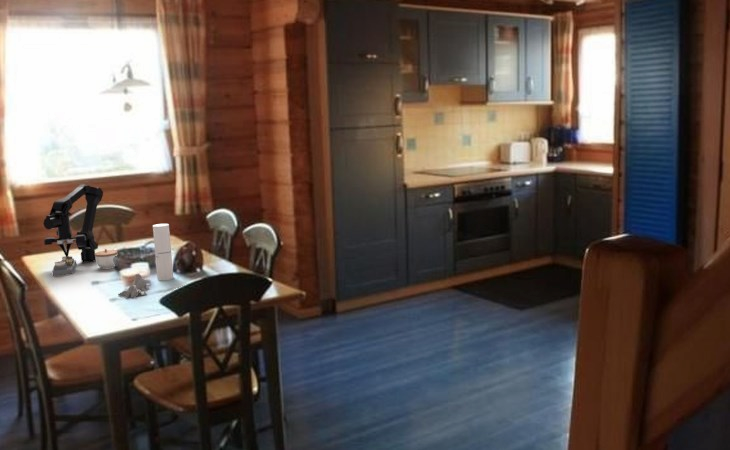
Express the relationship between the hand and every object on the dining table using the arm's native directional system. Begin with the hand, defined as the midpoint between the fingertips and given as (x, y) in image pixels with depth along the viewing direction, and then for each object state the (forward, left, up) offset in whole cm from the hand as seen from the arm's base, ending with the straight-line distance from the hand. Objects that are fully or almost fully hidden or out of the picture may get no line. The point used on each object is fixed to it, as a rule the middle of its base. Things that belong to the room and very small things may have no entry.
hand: (67, 256), depth 353 cm
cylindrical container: (-46, +44, -6) cm, 64 cm away
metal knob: (-1, +6, -3) cm, 7 cm away
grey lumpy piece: (-33, +64, -6) cm, 72 cm away
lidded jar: (-19, +8, -6) cm, 21 cm away
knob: (+2, +12, -6) cm, 13 cm away
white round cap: (0, 0, -6) cm, 6 cm away
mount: (+1, +6, -6) cm, 8 cm away
